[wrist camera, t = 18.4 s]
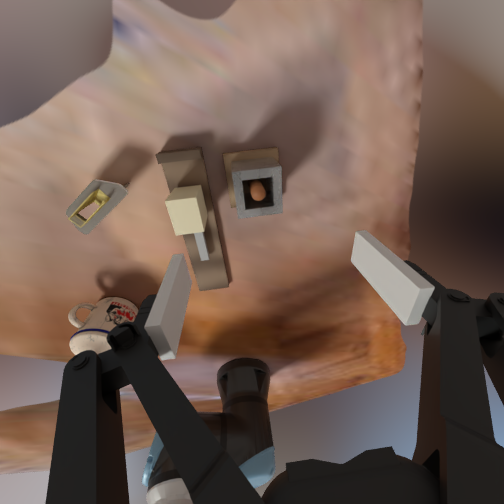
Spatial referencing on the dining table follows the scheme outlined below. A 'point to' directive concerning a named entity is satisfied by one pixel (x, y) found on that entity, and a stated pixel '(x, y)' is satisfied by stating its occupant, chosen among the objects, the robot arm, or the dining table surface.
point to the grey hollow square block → (255, 171)
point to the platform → (102, 195)
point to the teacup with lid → (99, 323)
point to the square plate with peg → (253, 185)
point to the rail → (194, 173)
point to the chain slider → (189, 215)
